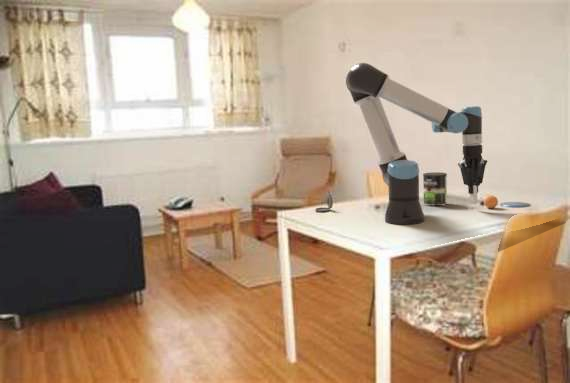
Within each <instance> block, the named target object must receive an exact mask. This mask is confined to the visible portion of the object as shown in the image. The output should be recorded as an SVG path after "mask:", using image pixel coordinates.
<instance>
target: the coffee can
mask: <svg viewBox="0 0 570 383" xmlns="http://www.w3.org/2000/svg"><path fill="white" fill-rule="evenodd" d="M422 176H423V205H424V204H427V205H444V204H447V202H448V201H447V196H448V195H447V193H448V192H447V190H448V189H447V177H448V174H447V173H446V172H436V171H435V172H425V173H423V174H422ZM444 206H445V205H444Z"/></svg>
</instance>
